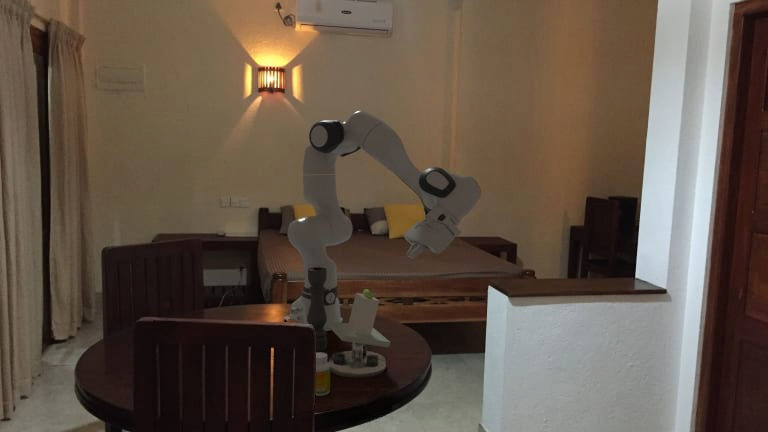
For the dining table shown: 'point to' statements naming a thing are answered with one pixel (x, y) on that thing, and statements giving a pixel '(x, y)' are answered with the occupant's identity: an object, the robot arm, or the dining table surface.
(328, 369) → the supplement bottle
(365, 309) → the white stepped fixture
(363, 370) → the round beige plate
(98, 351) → the dining table surface
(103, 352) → the dining table surface
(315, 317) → the candle holder
